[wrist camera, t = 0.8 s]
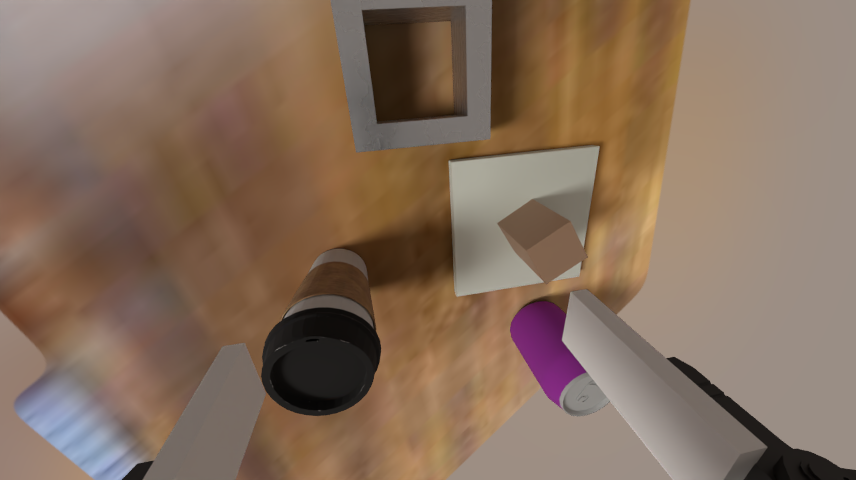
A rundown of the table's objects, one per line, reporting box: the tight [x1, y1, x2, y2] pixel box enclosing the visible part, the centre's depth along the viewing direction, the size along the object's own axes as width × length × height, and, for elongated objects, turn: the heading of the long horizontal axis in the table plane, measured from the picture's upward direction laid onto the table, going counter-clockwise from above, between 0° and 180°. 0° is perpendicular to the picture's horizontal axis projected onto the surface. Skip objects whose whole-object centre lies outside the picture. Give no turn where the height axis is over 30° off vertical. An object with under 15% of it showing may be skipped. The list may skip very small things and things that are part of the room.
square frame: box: [331, 0, 492, 152], centre depth 25 cm, size 12×12×4 cm
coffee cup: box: [261, 249, 381, 416], centre depth 27 cm, size 8×8×15 cm
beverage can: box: [510, 301, 610, 416], centre depth 36 cm, size 8×8×12 cm
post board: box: [449, 145, 600, 296], centre depth 31 cm, size 16×16×8 cm
